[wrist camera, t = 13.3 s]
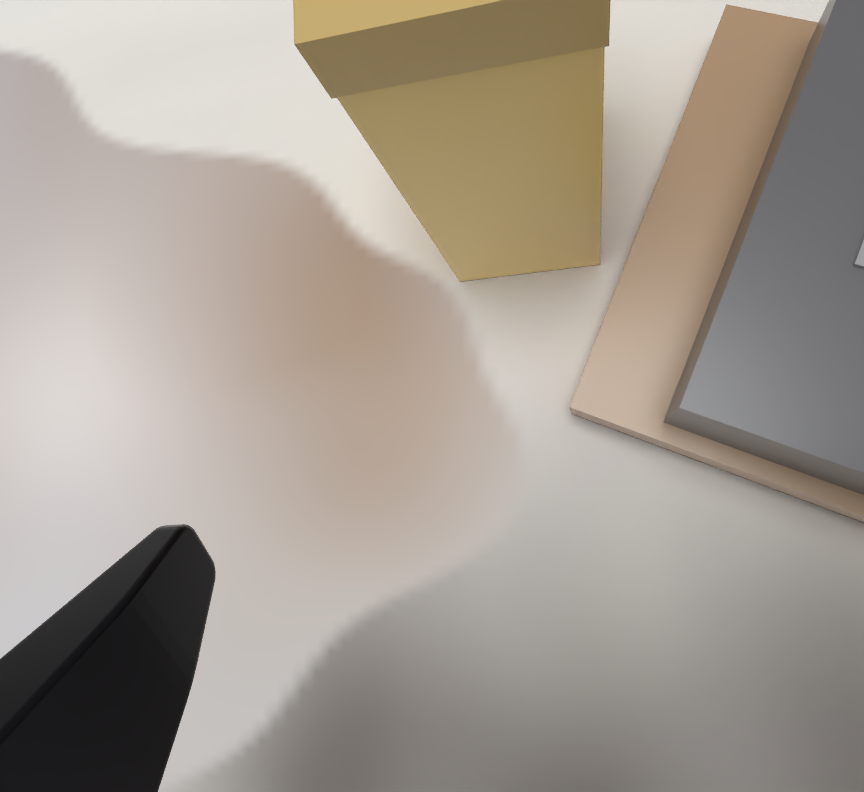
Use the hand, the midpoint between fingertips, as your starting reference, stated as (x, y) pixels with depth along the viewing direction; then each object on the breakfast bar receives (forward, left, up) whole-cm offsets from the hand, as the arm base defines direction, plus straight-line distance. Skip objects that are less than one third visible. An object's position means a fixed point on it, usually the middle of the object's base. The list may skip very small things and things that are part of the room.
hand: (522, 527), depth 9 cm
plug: (+8, +1, -9) cm, 12 cm away
